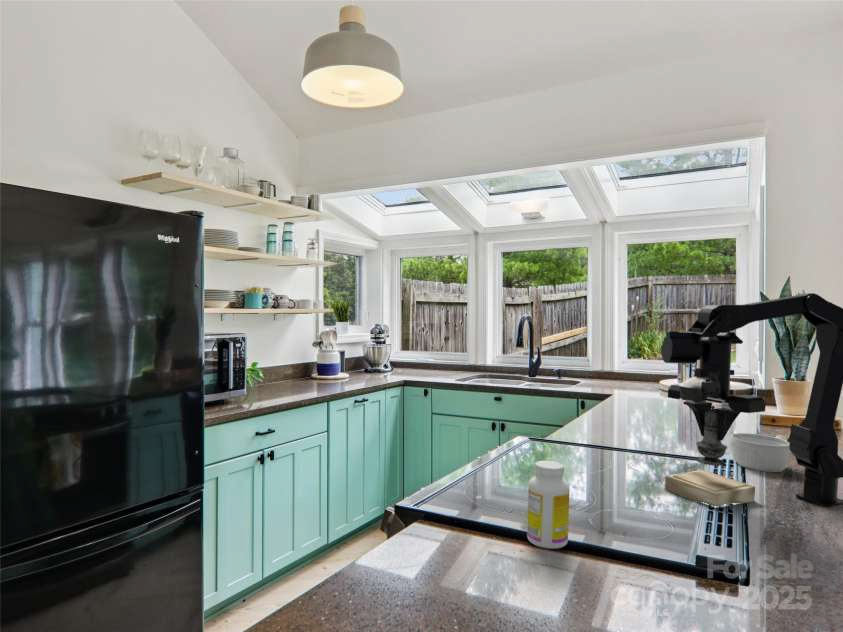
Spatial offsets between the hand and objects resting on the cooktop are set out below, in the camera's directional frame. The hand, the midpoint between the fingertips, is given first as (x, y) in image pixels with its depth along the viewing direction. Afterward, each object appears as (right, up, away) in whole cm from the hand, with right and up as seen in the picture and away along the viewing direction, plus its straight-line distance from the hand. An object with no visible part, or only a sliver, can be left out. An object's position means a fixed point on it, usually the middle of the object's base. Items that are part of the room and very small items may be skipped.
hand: (712, 438), depth 116 cm
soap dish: (0, -12, 0) cm, 12 cm away
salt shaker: (0, -5, 0) cm, 5 cm away
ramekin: (+25, -13, +24) cm, 37 cm away
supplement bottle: (-40, -12, -25) cm, 49 cm away
